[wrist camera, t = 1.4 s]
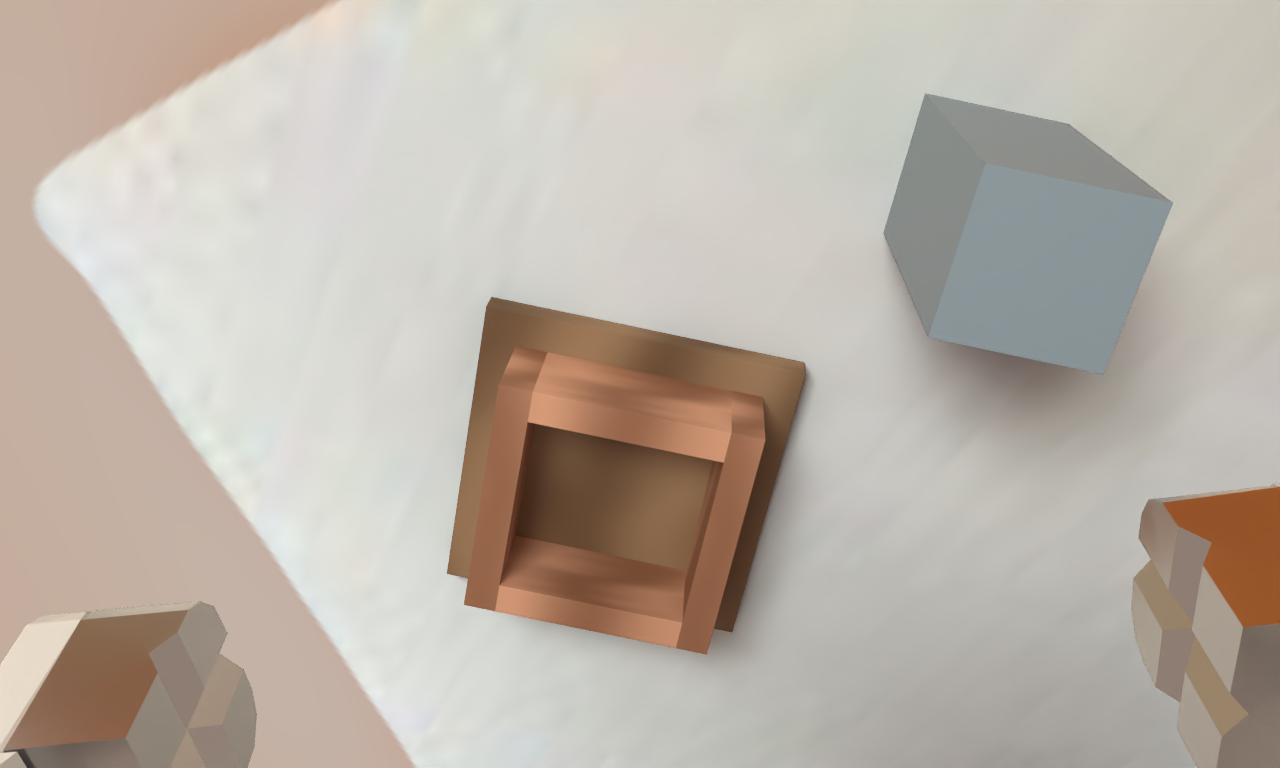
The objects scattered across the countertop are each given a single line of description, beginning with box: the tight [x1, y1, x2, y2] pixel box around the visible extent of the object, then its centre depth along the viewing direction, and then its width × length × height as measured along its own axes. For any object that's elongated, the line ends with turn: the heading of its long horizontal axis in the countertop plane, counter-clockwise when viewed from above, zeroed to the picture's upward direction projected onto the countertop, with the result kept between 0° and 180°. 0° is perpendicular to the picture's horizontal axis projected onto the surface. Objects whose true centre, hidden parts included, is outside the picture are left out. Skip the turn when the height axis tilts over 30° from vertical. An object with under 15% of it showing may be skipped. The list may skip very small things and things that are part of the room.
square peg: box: [884, 94, 1173, 374], centre depth 35 cm, size 5×5×10 cm
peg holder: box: [447, 297, 805, 654], centre depth 43 cm, size 12×12×4 cm
